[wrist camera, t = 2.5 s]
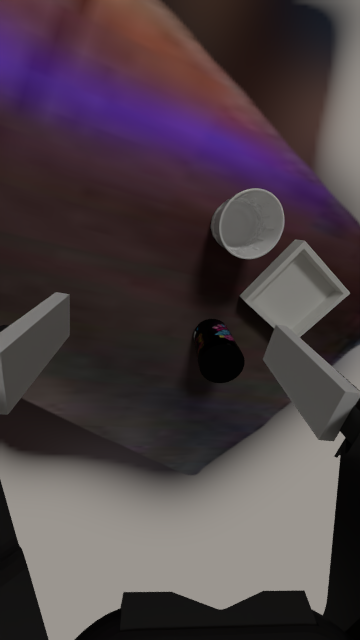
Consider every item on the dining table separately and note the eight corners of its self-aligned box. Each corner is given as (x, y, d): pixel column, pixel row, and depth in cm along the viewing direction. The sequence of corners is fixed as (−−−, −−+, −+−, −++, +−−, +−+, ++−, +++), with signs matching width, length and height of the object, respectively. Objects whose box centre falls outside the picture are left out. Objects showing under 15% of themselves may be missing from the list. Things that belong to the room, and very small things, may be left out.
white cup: (200, 207, 37) (211, 202, 28) (250, 189, 36) (278, 177, 27) (214, 257, 40) (228, 267, 31) (260, 241, 39) (289, 246, 30)
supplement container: (228, 348, 46) (243, 381, 37) (193, 351, 46) (200, 385, 37) (228, 315, 44) (245, 342, 34) (191, 318, 44) (198, 346, 34)
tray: (283, 337, 46) (291, 344, 43) (239, 295, 42) (244, 300, 40) (338, 288, 43) (350, 293, 40) (295, 239, 39) (304, 240, 36)
